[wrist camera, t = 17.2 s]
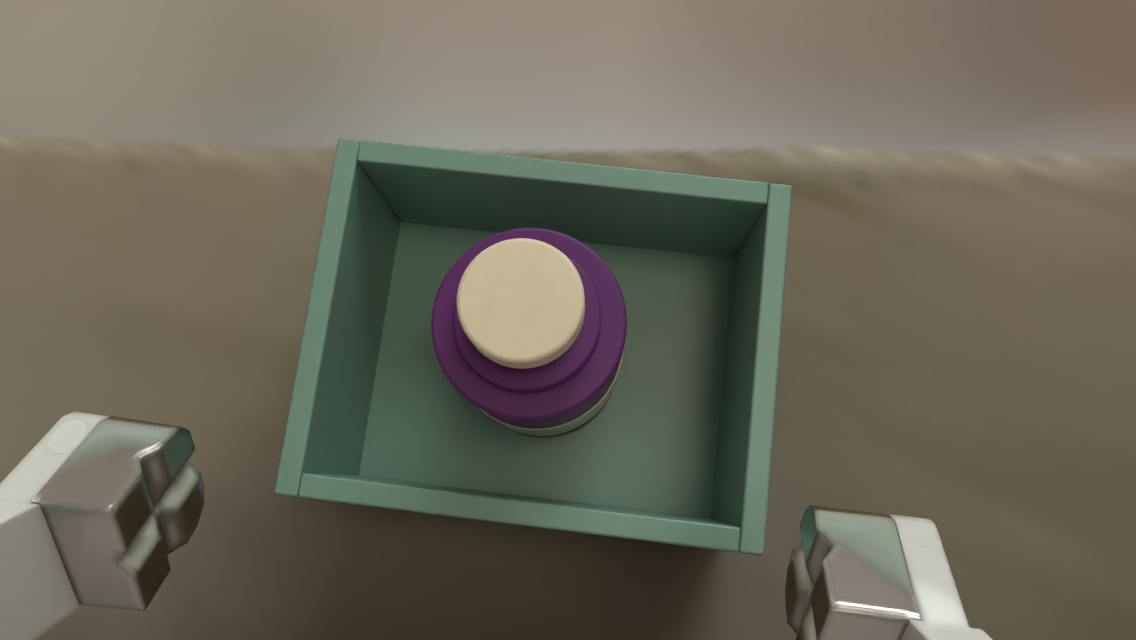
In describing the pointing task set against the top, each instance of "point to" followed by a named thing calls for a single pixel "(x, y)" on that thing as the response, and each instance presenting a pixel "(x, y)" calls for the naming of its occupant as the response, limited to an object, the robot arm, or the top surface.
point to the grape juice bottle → (531, 330)
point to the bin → (647, 374)
